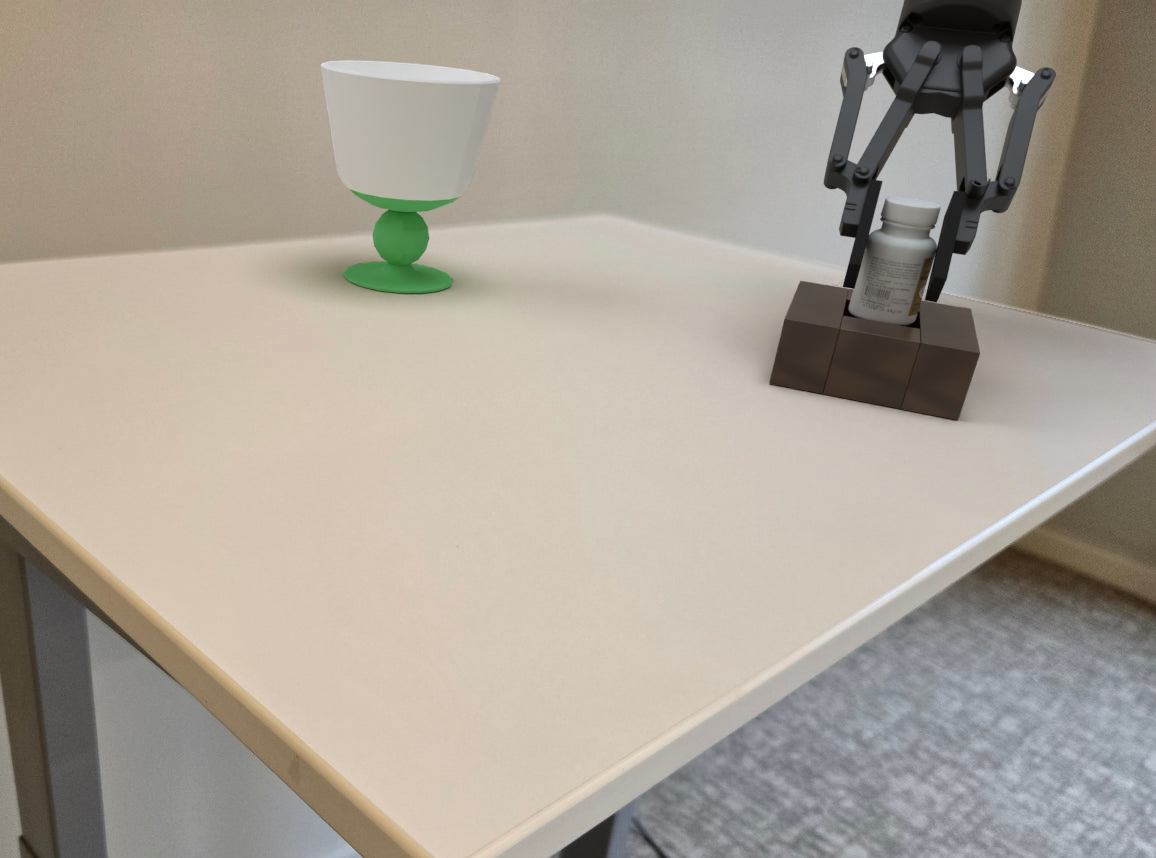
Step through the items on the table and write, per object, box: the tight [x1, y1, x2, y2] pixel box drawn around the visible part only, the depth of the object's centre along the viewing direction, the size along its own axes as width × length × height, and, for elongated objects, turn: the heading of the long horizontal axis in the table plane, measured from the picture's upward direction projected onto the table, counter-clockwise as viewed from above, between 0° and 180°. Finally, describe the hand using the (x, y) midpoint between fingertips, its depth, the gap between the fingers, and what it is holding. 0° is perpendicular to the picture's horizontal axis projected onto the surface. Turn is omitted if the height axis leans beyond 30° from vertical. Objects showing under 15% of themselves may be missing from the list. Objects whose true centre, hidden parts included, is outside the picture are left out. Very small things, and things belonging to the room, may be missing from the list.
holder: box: [768, 280, 981, 421], centre depth 74 cm, size 12×12×4 cm
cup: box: [319, 59, 502, 294], centre depth 85 cm, size 14×14×16 cm
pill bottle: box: [849, 196, 942, 326], centre depth 72 cm, size 4×4×8 cm
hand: (893, 282), depth 69 cm, fingers closed on pill bottle, 4 cm apart
